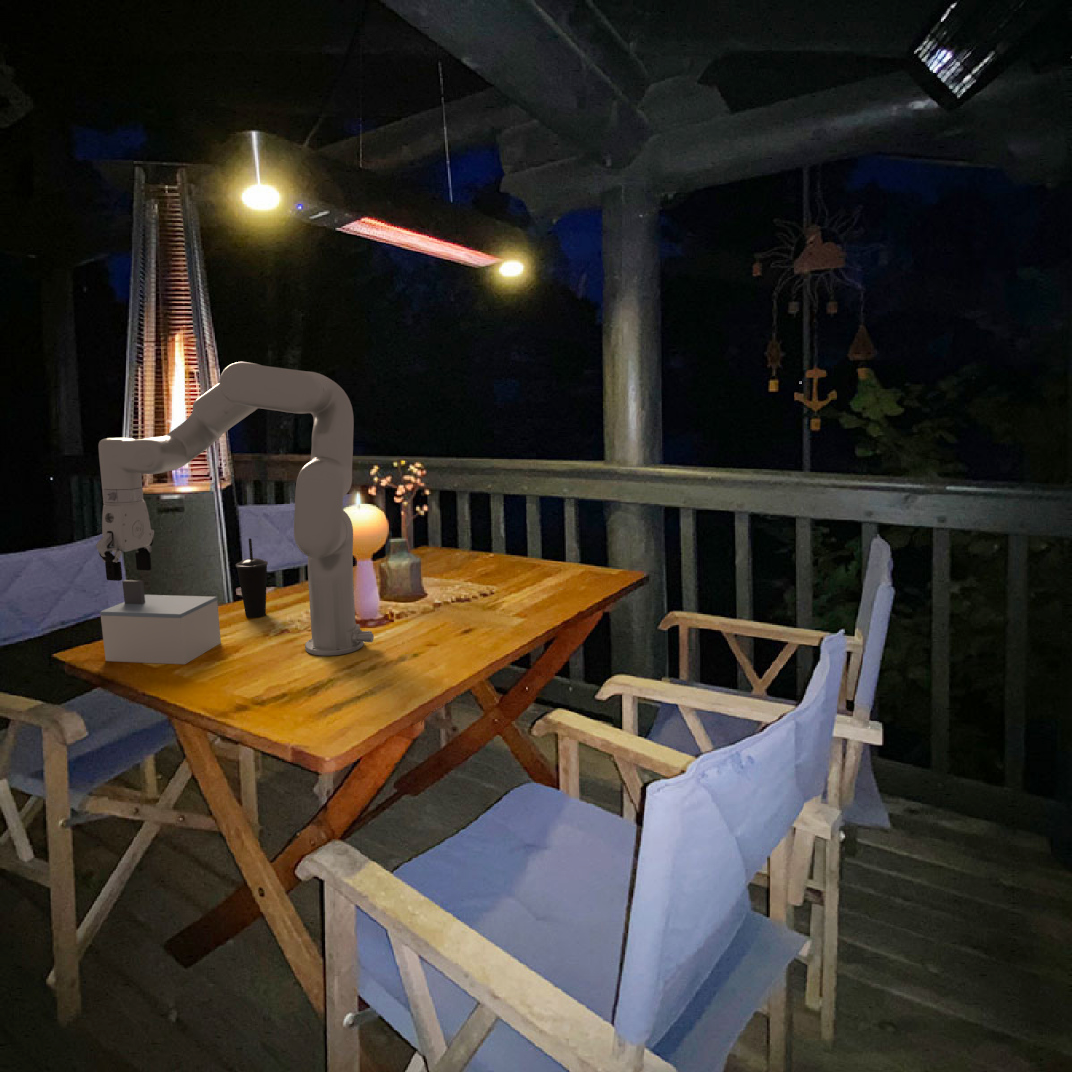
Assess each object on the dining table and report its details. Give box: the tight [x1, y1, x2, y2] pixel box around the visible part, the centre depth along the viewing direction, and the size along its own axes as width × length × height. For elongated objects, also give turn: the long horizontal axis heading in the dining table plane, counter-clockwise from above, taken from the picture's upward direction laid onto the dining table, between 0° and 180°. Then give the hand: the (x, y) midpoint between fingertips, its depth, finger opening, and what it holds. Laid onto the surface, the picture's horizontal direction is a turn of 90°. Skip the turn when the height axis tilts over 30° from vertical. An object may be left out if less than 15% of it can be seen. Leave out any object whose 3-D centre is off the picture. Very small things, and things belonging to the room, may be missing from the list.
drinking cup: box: [235, 538, 269, 619], centre depth 190 cm, size 8×8×20 cm
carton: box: [100, 600, 222, 665], centre depth 164 cm, size 18×14×10 cm
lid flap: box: [99, 579, 218, 618], centre depth 162 cm, size 18×14×6 cm
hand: (129, 574), depth 162 cm, fingers open, 9 cm apart
